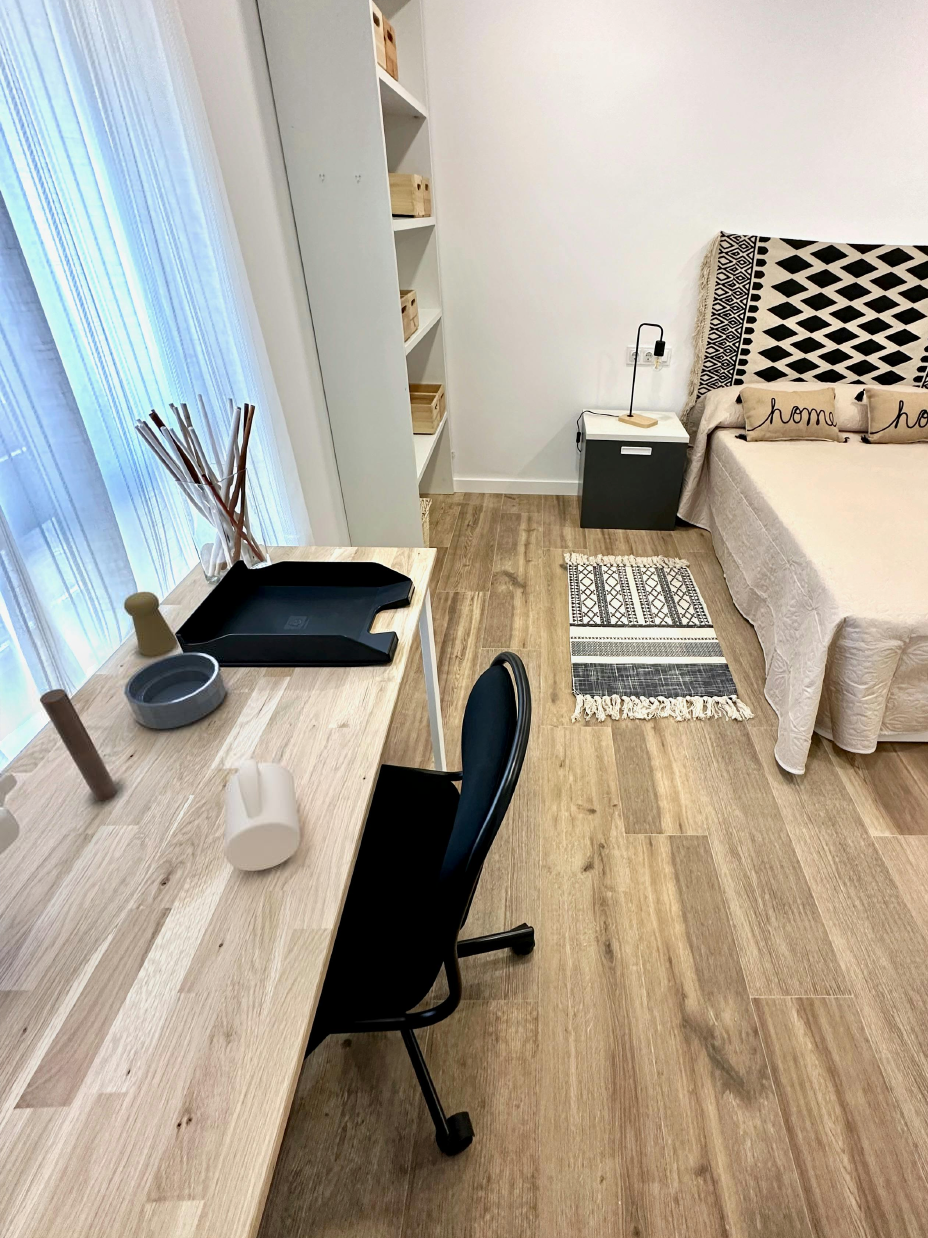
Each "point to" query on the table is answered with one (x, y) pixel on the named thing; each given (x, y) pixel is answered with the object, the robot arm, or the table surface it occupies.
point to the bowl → (175, 690)
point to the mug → (260, 816)
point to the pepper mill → (149, 624)
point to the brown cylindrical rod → (78, 743)
